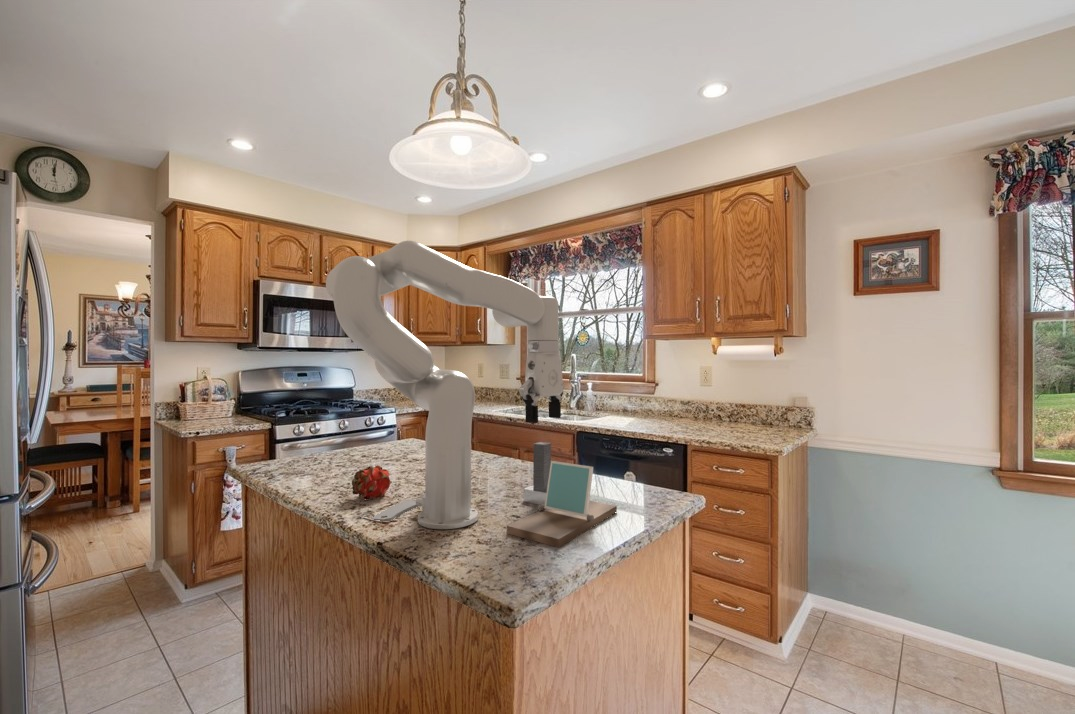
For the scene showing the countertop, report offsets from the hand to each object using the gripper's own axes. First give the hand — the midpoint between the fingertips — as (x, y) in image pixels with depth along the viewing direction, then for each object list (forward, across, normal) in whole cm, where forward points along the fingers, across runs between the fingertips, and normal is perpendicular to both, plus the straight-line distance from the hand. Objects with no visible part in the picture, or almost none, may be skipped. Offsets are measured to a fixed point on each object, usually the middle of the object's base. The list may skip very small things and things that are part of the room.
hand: (543, 420), depth 114 cm
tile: (+13, -8, -12) cm, 19 cm away
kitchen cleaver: (+20, -21, +24) cm, 37 cm away
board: (+19, -10, -12) cm, 25 cm away
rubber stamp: (+20, -1, 0) cm, 20 cm away
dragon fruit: (+19, -22, +36) cm, 46 cm away
